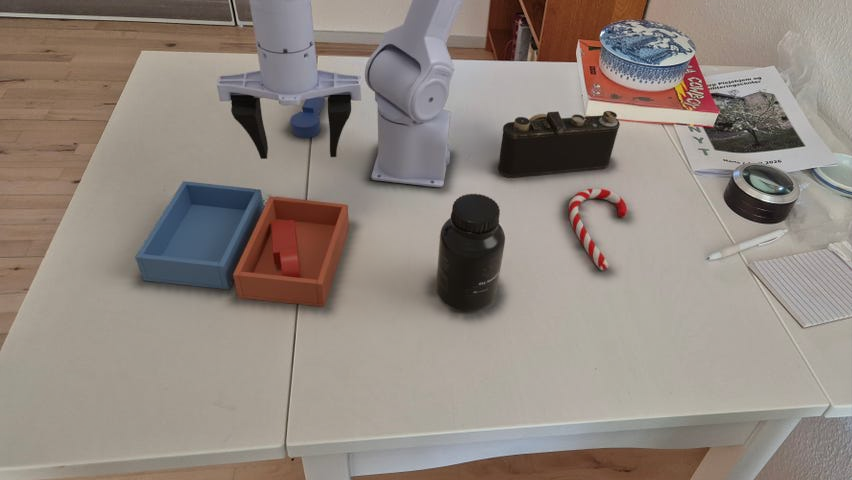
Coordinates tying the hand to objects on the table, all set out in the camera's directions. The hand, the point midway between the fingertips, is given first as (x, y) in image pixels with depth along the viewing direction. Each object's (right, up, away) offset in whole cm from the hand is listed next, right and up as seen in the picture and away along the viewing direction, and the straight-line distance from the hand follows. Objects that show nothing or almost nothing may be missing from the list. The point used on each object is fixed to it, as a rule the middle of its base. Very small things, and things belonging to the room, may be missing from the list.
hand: (299, 152), depth 76 cm
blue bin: (-10, -10, 0) cm, 15 cm away
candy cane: (+36, -9, +8) cm, 38 cm away
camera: (+31, +2, +18) cm, 36 cm away
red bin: (0, -12, -1) cm, 12 cm away
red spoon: (0, -11, -2) cm, 11 cm away
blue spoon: (-4, +8, +20) cm, 22 cm away
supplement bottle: (+19, -16, -2) cm, 25 cm away
